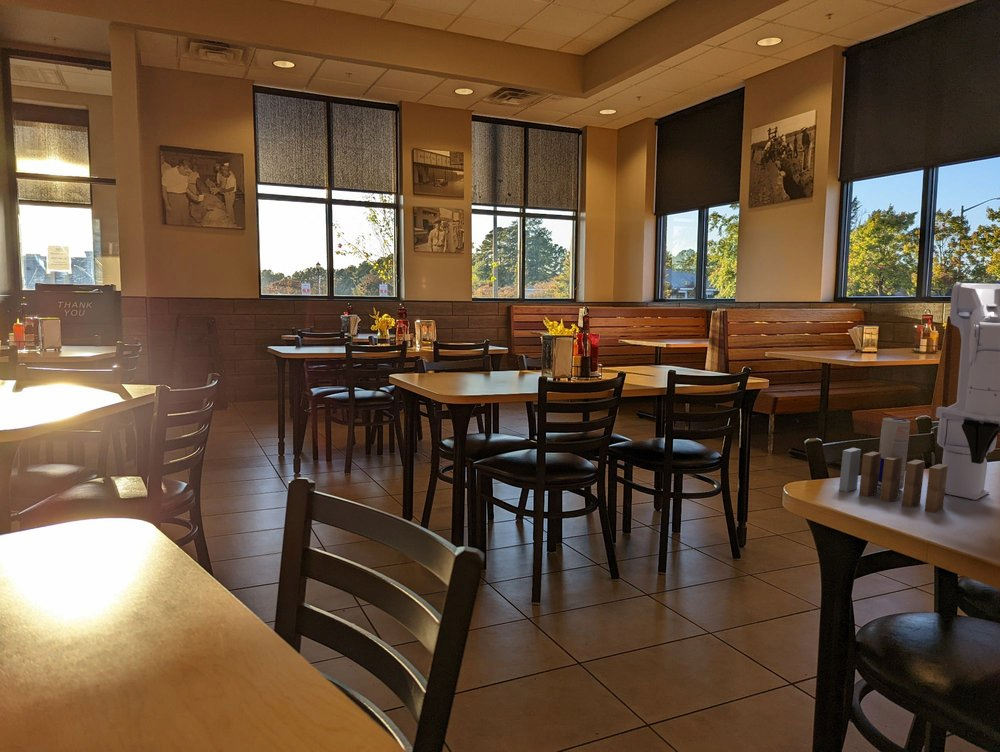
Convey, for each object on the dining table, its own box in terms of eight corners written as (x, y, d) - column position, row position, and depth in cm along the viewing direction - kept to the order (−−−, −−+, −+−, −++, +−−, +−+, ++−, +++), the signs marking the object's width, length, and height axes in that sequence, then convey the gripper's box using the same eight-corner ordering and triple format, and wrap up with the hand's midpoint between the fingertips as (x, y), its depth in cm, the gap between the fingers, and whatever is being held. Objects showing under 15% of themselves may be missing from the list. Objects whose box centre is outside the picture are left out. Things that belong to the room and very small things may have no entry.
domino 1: (849, 486, 146) (853, 447, 145) (856, 488, 145) (860, 449, 144) (838, 490, 143) (842, 450, 142) (846, 491, 142) (851, 451, 141)
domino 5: (933, 506, 134) (938, 463, 133) (943, 508, 133) (948, 465, 132) (924, 510, 131) (929, 467, 130) (934, 512, 130) (939, 469, 129)
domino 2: (868, 491, 143) (873, 451, 142) (877, 493, 142) (881, 453, 141) (859, 494, 140) (863, 454, 139) (867, 496, 139) (871, 455, 138)
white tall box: (895, 486, 148) (903, 417, 146) (907, 493, 143) (915, 421, 141) (871, 484, 148) (878, 416, 146) (881, 491, 143) (889, 420, 141)
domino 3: (889, 495, 140) (893, 455, 139) (898, 497, 139) (902, 457, 138) (879, 499, 137) (884, 458, 136) (888, 501, 136) (893, 460, 135)
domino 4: (911, 500, 137) (915, 459, 136) (920, 502, 136) (924, 461, 135) (901, 504, 134) (906, 462, 133) (910, 507, 133) (915, 464, 132)
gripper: (933, 385, 127) (925, 457, 129) (1029, 396, 116) (1019, 474, 118) (946, 383, 132) (938, 452, 134) (1040, 393, 121) (1030, 468, 123)
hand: (977, 462), depth 126 cm, fingers closed
